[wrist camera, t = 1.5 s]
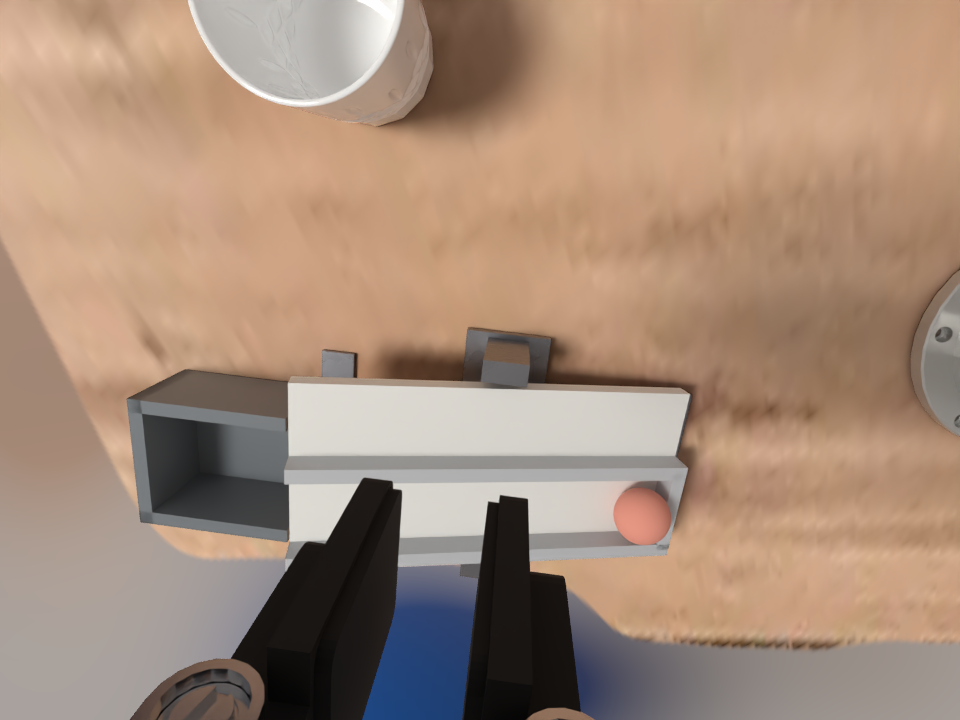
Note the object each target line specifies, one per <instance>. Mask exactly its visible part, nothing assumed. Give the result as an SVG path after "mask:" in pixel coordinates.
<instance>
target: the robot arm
mask: <svg viewBox="0 0 960 720" xmlns="http://www.w3.org/2000/svg"><path fill="white" fill-rule="evenodd" d="M911 377H912V381H913V385H914V390H915V393H916V395H917V397H918V399H919V401H920V403H921V404H922V406H923V408H924V409H925V410H926V412H927V413H928V414H929V415H930V416H931V417H932V418H933V420H934V421H935V422H937V423H938V424H939V425H941V426H942V427H944V428H945V429H947V430H948V431H949V432H951V433H953V434H955V435H957V436H959V437H960V270H959V271H957V272H956V273H955V274H954V275H953V276H952V277H951V278H950V279H949V280H948V281H947V283H946V284H945V285H944V286H943V287H942V288H941V289H940V290H939V292H938V293H937V294H936V295H935V297H934V298H933V300H932V302H931V303H930V305H929V306H928V308H927V309H926V311H925V312H924V314H923V317H922V319H921V321H920V324H919V326H918V328H917V331H916V333H915V337H914V341H913V346H912V351H911ZM401 508H402V490H399V489H393V482H392V481H389V480H381V479H373V478H366V477H365V478H363V479H362V480H361V482H360V484H359V485H358V487H357V489H356V491H355V492H354V494H353V496H352V498H351V499H350V501H349V503H348V505H347V506H346V508H345V510H344V512H343V513H342V515H341V517H340V519H339V520H338V522H337V524H336V526H335V528H334V529H333V531H332V533H331V535H330V536H329V538H328V540H327V542H326V543H317V542H310V541H308V542H306V543H304V545H303V546H302V547H301V548H300V550H299V552H298V553H297V555H296V556H295V558H294V559H293V561H292V563H291V564H290V566H289V567H288V569H287V571H286V572H285V574H284V575H283V577H282V578H281V580H280V582H279V583H278V585H277V586H276V588H275V590H274V591H273V593H272V594H271V596H270V597H269V599H268V601H267V602H266V604H265V605H264V607H263V608H262V610H261V612H260V613H259V615H258V617H257V618H256V620H255V621H254V623H253V624H252V626H251V628H250V629H249V631H248V632H247V634H246V635H245V637H244V638H243V640H242V642H241V643H240V645H239V646H238V648H237V650H236V651H235V653H234V654H233V656H232V657H231V659H213V660H208V661H204V662H199V663H196V664H194V665H192V666H189V667H187V668H185V669H183V670H180V671H178V672H177V673H175V674H174V675H172V676H171V677H169V678H168V679H166V680H165V681H163V682H162V683H161V684H160V685H159V686H158V687H157V688H156V689H155V690H154V691H153V692H152V693H151V694H150V695H149V696H148V697H147V698H146V699H145V701H144V702H143V703H142V705H141V706H140V707H139V708H138V710H137V711H136V712H135V713H134V715H133V716H132V717H131V719H130V720H362V718H363V715H364V712H365V708H366V705H367V701H368V698H369V695H370V692H371V689H372V685H373V682H374V679H375V676H376V672H377V669H378V666H379V663H380V659H381V655H382V653H383V649H384V646H385V642H386V639H387V636H388V633H389V629H390V626H391V623H392V619H393V615H394V609H395V600H396V586H397V585H396V584H397V570H398V555H399V539H400V523H401ZM567 600H568V599H567V591H566V583H565V578H564V577H563V576H559V575H552V574H545V573H537V572H530V555H529V515H528V499H527V498H519V497H511V496H504V495H500V497H499V503H498V502H490V501H488V505H487V513H486V522H485V530H484V538H483V546H482V554H481V562H480V571H479V579H478V587H477V595H476V604H475V612H474V620H473V629H472V638H471V646H470V655H469V665H468V673H467V682H466V691H465V700H464V708H463V718H462V720H594V719H592V718H591V717H589V716H587V715H585V714H584V713H582V712H581V710H580V701H579V693H578V684H577V676H576V667H575V659H574V651H573V642H572V634H571V625H570V616H569V608H568V601H567Z"/></svg>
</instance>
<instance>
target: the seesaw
mask: <svg viewBox="0 0 960 720" xmlns="http://www.w3.org/2000/svg"><path fill="white" fill-rule="evenodd" d="M689 397H690V394H689V393H687V392H686V391H684V390H683V389H681V388H665V387H632V386H600V385H567V384H535V383H528V384H527V387H519V386H511V385H503V384H494V383H486V382H470V381H437V380H405V379H372V378H339V377H307V376H291V377H290V379H289V382H288V441H289V457H288V460H287V463H286V466H285V469H284V485H288V484H289V530H290V542H289V546H288V550H287V554H286V558H285V566H286V568H285V569H286V571H287V569H288V567H289V566H290V564H291V563H292V561H293V559H294V558H295V556H296V555H297V553H298V552H299V550H300V548H301V547H302V546H303V545H304V543H306V542H308V541H310V542H317V543H326V542H327V540H328V538H329V536H330V535H331V533H332V531H333V529H334V528H335V526H336V524H337V522H338V520H339V519H340V517H341V515H342V513H343V512H344V510H345V508H346V506H347V505H348V503H349V501H350V499H351V498H352V496H353V494H354V492H355V491H356V489H357V487H358V485H359V484H360V482H361V480H362V479H363V478H365V477H366V478H373V479H381V480H389V481H392V482H393V489H399V490H402V508H401V523H400V539H399V555H398V567H409V566H432V565H455V564H478V563H480V562H481V554H482V546H483V538H484V530H485V522H486V513H487V505H488V501H490V502H498V503H499V497H500V495H504V496H511V497H519V498H527V499H528V515H529V555H530V561H547V560H570V559H593V558H616V557H638V556H661V555H667V551H668V547H669V543H670V539H671V535H672V531H673V527H674V523H675V519H676V515H677V511H678V507H679V503H680V499H681V495H682V491H683V487H684V483H685V479H686V475H687V471H688V467H687V466H685V465H684V464H683V463H682V462H681V461H680V460H679V459H678V458H677V457H676V456H675V455H676V451H677V447H678V443H679V439H680V434H681V430H682V426H683V422H684V418H685V414H686V410H687V405H688V401H689ZM632 488H647V489H651V490H653V491H655V492H656V493H658V494H659V495H660V496H661V497H662V498H663V499H664V500H665V501H666V503H667V504H668V506H669V509H670V512H671V525H670V529H669V531H668V533H667V534H666V536H665V537H664V538H663V539H662V540H660V541H659V542H657V543H655V544H651V545H638V544H635V543H632V542H630V541H629V540H627V539H626V538H625V537H623V536H622V535H621V533H620V532H619V531H618V529H617V527H616V525H615V522H614V516H613V511H614V506H615V503H616V501H617V499H618V498H619V497H620V496H621V495H622V494H623V493H624V492H625V491H627V490H630V489H632Z"/></svg>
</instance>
